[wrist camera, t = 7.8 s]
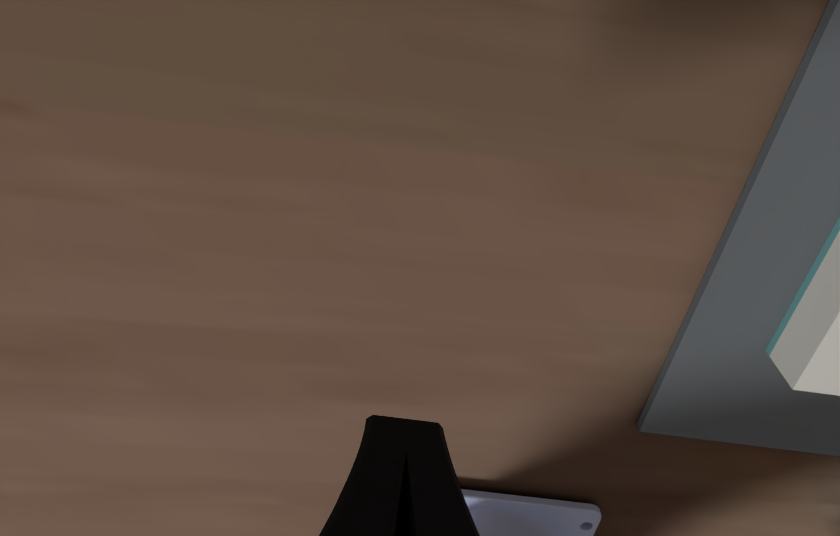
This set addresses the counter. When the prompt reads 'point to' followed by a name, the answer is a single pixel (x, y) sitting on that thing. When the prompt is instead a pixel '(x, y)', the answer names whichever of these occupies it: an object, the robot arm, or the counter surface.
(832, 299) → the tile
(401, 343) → the counter surface
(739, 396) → the mat
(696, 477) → the counter surface
